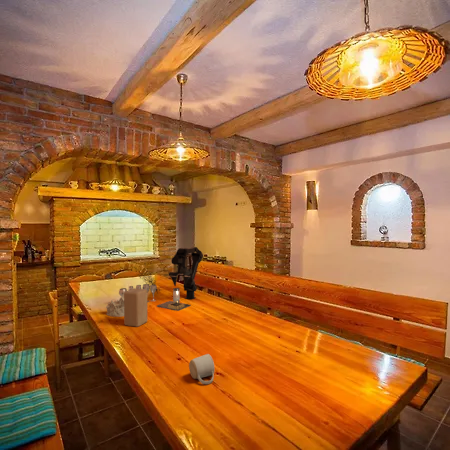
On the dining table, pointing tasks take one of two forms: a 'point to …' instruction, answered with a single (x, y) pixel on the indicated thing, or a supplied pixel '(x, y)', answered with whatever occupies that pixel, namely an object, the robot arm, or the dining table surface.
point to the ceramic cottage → (116, 307)
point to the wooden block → (135, 307)
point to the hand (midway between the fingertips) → (180, 286)
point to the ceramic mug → (202, 368)
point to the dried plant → (148, 277)
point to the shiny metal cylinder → (176, 296)
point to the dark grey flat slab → (170, 306)
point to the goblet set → (145, 286)
